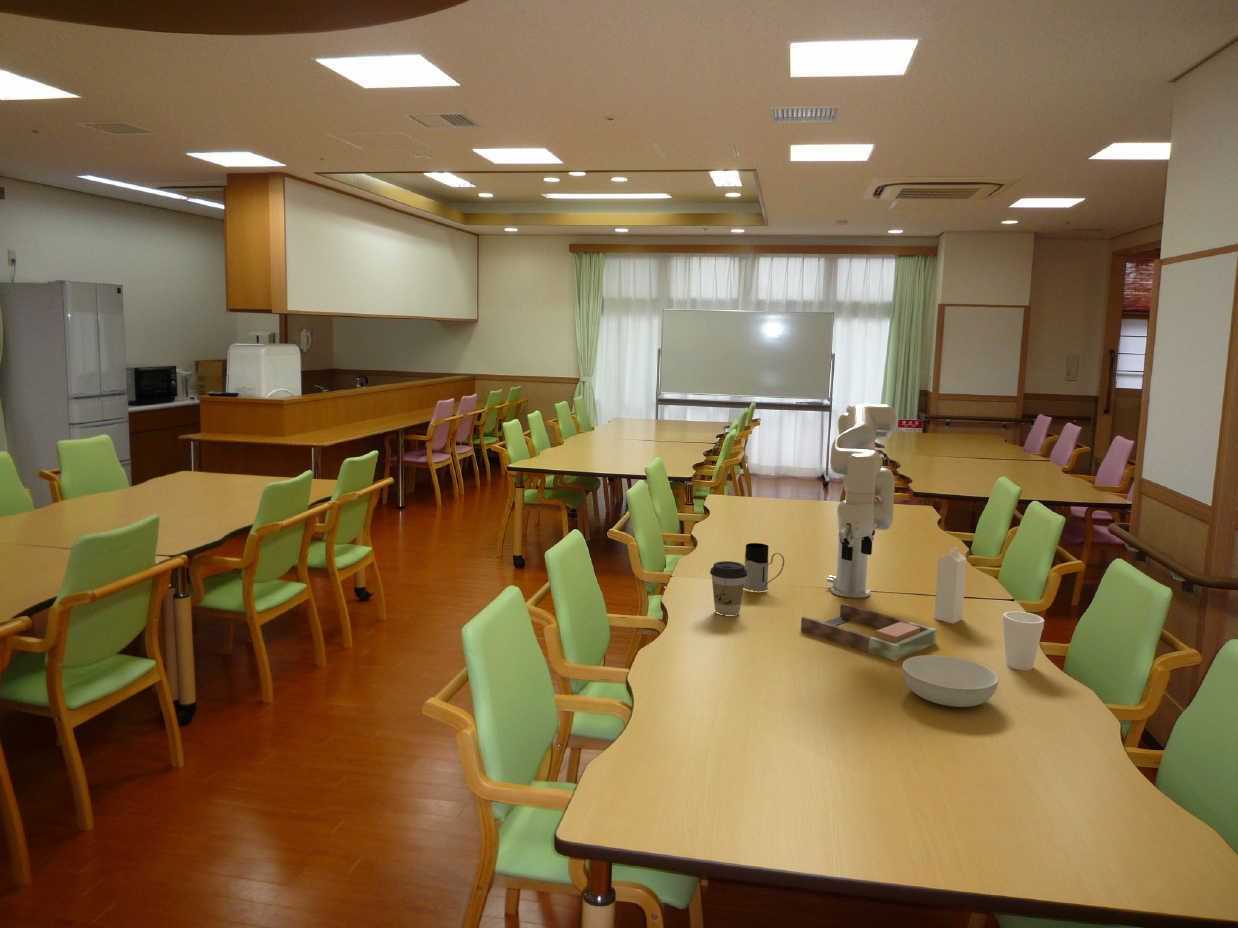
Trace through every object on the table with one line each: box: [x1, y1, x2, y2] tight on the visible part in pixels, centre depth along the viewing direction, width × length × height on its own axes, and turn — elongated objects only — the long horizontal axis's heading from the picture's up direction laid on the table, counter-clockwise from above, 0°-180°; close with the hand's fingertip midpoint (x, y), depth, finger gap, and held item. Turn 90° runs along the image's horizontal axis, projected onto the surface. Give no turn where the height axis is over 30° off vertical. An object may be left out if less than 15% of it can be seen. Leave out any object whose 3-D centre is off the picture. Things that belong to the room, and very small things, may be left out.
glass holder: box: [744, 542, 785, 592], centre depth 275 cm, size 9×14×15 cm, turn 54°
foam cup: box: [1001, 610, 1045, 671], centre depth 213 cm, size 10×9×13 cm
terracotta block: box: [875, 622, 920, 644], centre depth 226 cm, size 6×12×5 cm, turn 130°
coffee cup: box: [709, 560, 747, 615], centre depth 251 cm, size 11×11×15 cm
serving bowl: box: [902, 654, 999, 708], centre depth 192 cm, size 21×21×7 cm
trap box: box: [800, 602, 938, 662], centre depth 233 cm, size 30×21×4 cm
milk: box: [933, 546, 968, 624], centre depth 248 cm, size 6×6×22 cm
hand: (856, 556), depth 234 cm, fingers open, 9 cm apart
